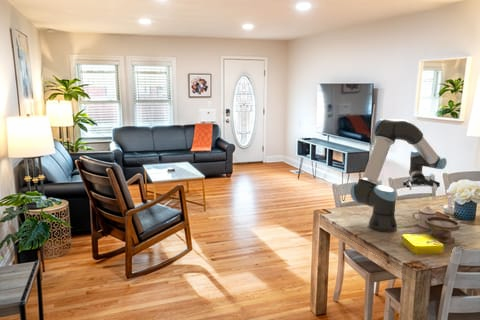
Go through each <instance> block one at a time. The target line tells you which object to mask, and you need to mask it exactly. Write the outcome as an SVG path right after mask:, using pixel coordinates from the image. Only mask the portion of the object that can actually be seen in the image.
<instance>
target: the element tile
mask: <svg viewBox="0 0 480 320" xmlns="http://www.w3.org/2000/svg"><path fill="white" fill-rule="evenodd" d="M401 244H402V245H404V247H406V248H407V249H408V250H410V252H411V253H413V254H416V255H432V254H443V253H444V250H445V249H444V248H445V245H444V243H441V242H439V241H438V240H436V239H435V238H434V237H432V236H431V235H429V234H427V233H419V234H418V233H416V234H415V233H412V234H411V233H410V234H409V233H408V234H402V235H401Z"/></svg>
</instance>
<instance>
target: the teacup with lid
mask: <svg viewBox="0 0 480 320" xmlns="http://www.w3.org/2000/svg"><path fill="white" fill-rule="evenodd" d="M415 215H418V216H417V217H418V219H417V218H416V217H415ZM431 216H437V211H436V210H434V209H432V208H431V207H430V206H429V205H427V206H425V207H422V208H419V209H418V212H417V211H415V212H413V213H412V219H413V220H415V221H417V225H418V226H419V227H420V228H422V229H423V228H424V229H431V228H430V227H428V226H427V225H426V224H425V219H426V218H427V217H431Z"/></svg>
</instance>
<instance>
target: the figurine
mask: <svg viewBox="0 0 480 320" xmlns="http://www.w3.org/2000/svg"><path fill="white" fill-rule="evenodd" d="M454 195H455V194H454ZM454 195H452V194H449V193H448V198H447V204H443V206H442V209H443V211H444V213H445V214H449V215H450V214H451V215H454V213H455V212H454V206H455V205H453V201H454Z"/></svg>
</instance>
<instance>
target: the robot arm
mask: <svg viewBox="0 0 480 320" xmlns="http://www.w3.org/2000/svg"><path fill="white" fill-rule="evenodd" d="M373 135H374V139H375V143H374V145H373V149H372V151H371V154H370V156H369V159H368V160H367V161H368V162H367V164H366V167H365V170H364V172H363V174H362V175H363V176H362V177H360V178H359V179H358V180H357V181H356V182H354V183H353V184H352V185H351V187H350V191H349V193H350V196H351V199H352V200H353V201H354V202H356V203H357V204H362V205H365V206H369V207H371V208H372V214H371V217H370V219H369V221H368V227H369V229H372V230H373V231H376V232H381V233H392V232H396V231H397V229H398V224H397V220H396V216H395V213H396V202H397V192H396V190H395V189H394V187H393V188H392V187H390V186H388V185H383V184H380V185H379V183H378V180H379V178H380V175H381V172H382V169H383V166H384V164H385V161H386V159H387V157H388V153H389V150H390V148H391V146H392V145H394V144H395V142H396V140H399V141H400V140H401V141H405V142H406V143H408V144H409V145H411V146H412V147H413V148H414V149H415V150H412V151H410V160H409V161H410V162H409V163H410V164H409V165H410V166H409V170H408V175H409V177H408V178H407V179H405V180H404V181H403V182H402V184H403V187H405V186H406V188H408V189H409V190H410V191H412V189H413V188H412V186H413V185H416V186H422V185H423V186H430V187H433V190H434V191H435V192H436V191H437V190H438V188H440V186H441V185H440V183H441V182H439V181H436V180H434V179H432V178H429V179H427V178H426V176H425V175H424V173H423V168H424V167H426V168H429V169H431V168H432V169H436V170H443V169H445V168H446V166H447V159H446V158H445V157H442V156H439V155H438V154H437V153H436V151H435V150H434V149H433V147H432V146H431V145H430V143H429V142H428V141H427V139H426V138H425V137H424V133H423V132H422V130H420V129H419V127H417V125H415V124H414V123H412V122H410V121H409V120H406V119H395V118H380V119H378V120H377V121H376V122H375V124H374V126H373Z"/></svg>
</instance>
